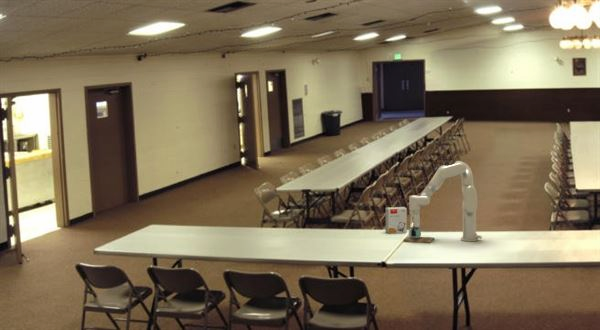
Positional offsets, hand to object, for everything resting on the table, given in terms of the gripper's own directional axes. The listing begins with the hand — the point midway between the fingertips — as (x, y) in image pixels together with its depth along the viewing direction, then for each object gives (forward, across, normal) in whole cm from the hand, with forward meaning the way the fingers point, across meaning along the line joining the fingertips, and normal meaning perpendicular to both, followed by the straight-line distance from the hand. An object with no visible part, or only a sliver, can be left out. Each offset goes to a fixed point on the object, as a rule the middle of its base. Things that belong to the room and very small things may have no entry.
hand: (415, 234), depth 538 cm
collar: (+1, 0, 0) cm, 1 cm away
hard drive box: (+5, +23, +22) cm, 32 cm away
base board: (+4, 0, -3) cm, 5 cm away
